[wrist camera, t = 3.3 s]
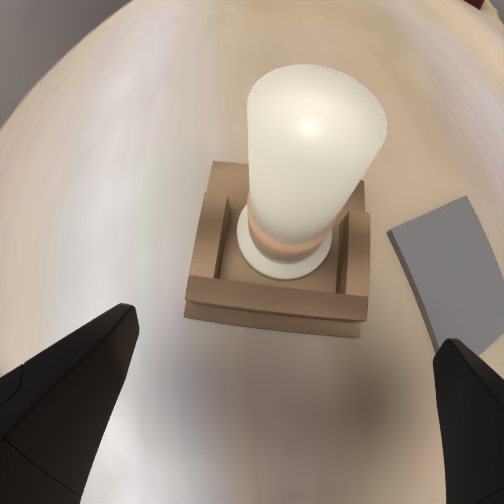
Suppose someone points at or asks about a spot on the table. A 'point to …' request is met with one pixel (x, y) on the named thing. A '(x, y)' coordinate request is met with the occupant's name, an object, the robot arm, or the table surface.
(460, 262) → the charcoal mat
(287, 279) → the white tall banded cylinder
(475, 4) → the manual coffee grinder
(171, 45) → the table surface
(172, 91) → the table surface
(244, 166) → the walnut tray
